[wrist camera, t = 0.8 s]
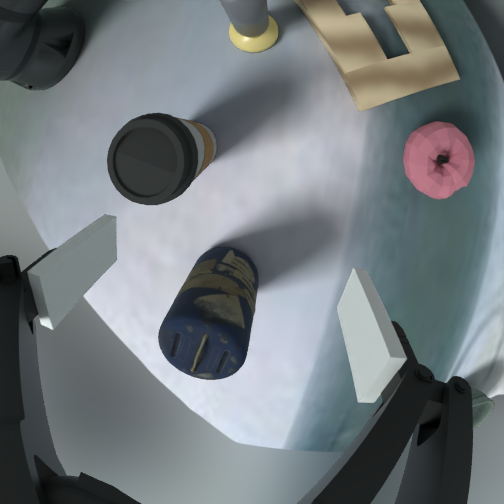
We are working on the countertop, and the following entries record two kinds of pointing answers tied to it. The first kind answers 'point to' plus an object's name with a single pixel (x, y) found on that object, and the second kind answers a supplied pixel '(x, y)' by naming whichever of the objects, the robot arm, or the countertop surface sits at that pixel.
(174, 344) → the canister
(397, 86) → the keyhole board
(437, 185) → the apple
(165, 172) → the coffee cup
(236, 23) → the peg
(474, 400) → the bowl
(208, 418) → the countertop surface
